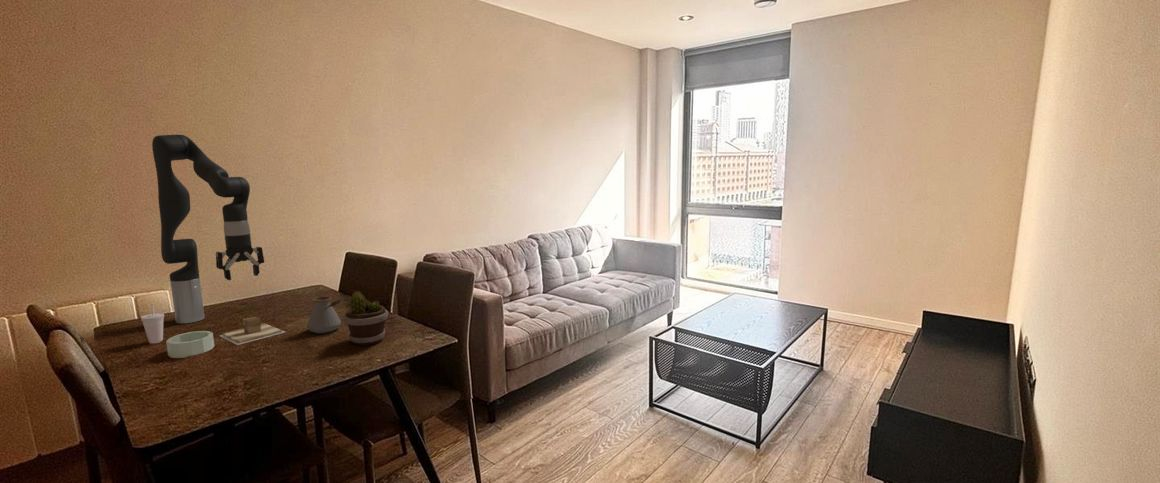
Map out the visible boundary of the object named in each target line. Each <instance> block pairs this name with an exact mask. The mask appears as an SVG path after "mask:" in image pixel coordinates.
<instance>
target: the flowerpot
mask: <svg viewBox="0 0 1160 483" xmlns="http://www.w3.org/2000/svg"><path fill="white" fill-rule="evenodd" d="M351 295H352V296H351ZM351 295H350V296H349V299H348V300H349V301H347V303H348V304H349V306H348V309H347V310H346V313H345V314H344V315H343V319H342V321H343V322H344V323H345V324H346V325H347V328H348V330H349V332H350V333H349V334H348V337H349V338H348V339H349V340H350V342H352V343H353V344H354V345H358V346H370V345H375V344H378V343H380V342H382V340H383V338H385V335H386V329H385V325H386V320H387V319H388V317H389V311H388V310H387V309H386V308H385V307H384V305H380V301H378V302H377V300H375V301H373V302H371V300H370V299H368V298H367V297H366V296H365V295H364V294H363V293H362V292H361V291H360V290H358V291H355V290H353V293H351Z"/></svg>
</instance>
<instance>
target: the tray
mask: <svg viewBox="0 0 1160 483" xmlns="http://www.w3.org/2000/svg"><path fill="white" fill-rule="evenodd" d="M284 333H286V331H284V330H282V332H281V333H277V334H273V335H270V336H266V337H262V338H258V339H255V340H251V341H247V342H243V343H238V342H236V341H234V340H232V339H230V338H228V337H226V336H224V335H223V334H220V335H219V337H221V338H223V339H225V340H227V341H229V342H231V343H233V344H235V345H237V346H239V345H243V344H246V343H250V342H254V341H258V340H262V339H265V338H269V337H274V336H277V335H281V334H284Z"/></svg>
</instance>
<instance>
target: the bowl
mask: <svg viewBox="0 0 1160 483" xmlns="http://www.w3.org/2000/svg"><path fill="white" fill-rule="evenodd" d="M165 342H166V343H165V344H166V349H167V350H166V351H167V356H168V357H170V358H171V359H183V358H185V359H186V358H188V357H192V356H196V355H200V354H203V353H207V352H209V351H210V350H213V348H214V347H215V340H214V333H213V332H212V331H209V330H198V331H188V332H185V333H180V334H175V335H174V336H172V337H171V336H170V337H169V338H168V339H167V340H166V341H165Z"/></svg>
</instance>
